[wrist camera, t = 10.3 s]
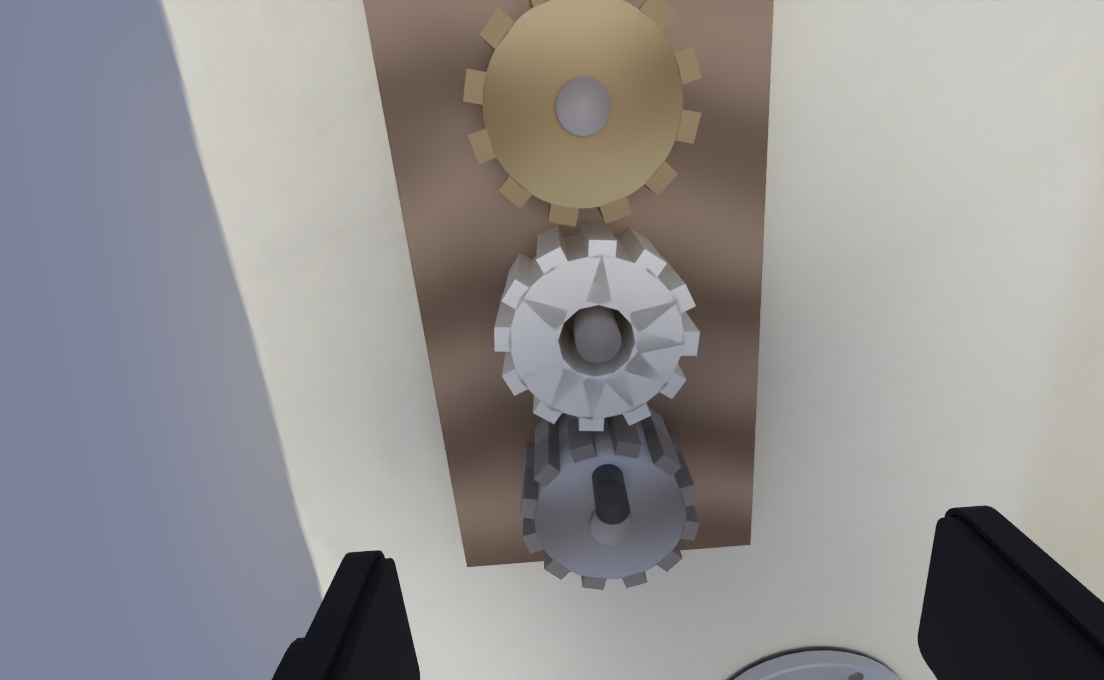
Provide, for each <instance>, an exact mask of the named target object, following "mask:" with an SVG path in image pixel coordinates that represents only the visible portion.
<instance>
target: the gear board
mask: <svg viewBox="0 0 1104 680" xmlns="http://www.w3.org/2000/svg"><path fill="white" fill-rule="evenodd" d="M773 1H774V0H363V3H364V8H365V14H366V19H367V25H368V30H369V36H370V41H371V46H372V52H373V57H374V63H375V68H376V74H377V79H378V85H379V90H380V95H381V101H382V106H383V112H384V117H385V123H386V128H387V134H388V139H389V144H390V150H391V155H392V161H393V166H394V172H395V177H396V182H397V188H398V193H399V199H400V204H401V210H402V215H403V221H404V226H405V231H406V237H407V242H408V248H409V253H410V259H411V264H412V270H413V275H414V280H415V286H416V291H417V297H418V302H419V308H420V313H421V319H422V324H423V329H424V335H425V340H426V346H427V351H428V357H429V362H430V367H431V373H432V378H433V384H434V389H435V395H436V400H437V406H438V411H439V416H440V422H441V427H442V433H443V438H444V444H445V449H446V455H447V460H448V465H449V471H450V476H451V482H452V487H453V493H454V498H455V504H456V509H457V514H458V520H459V525H460V531H461V536H462V542H463V547H464V552H465V558H466V563H467V567H473V566H486V565H498V564H511V563H524V562H537V561H544V569H545V570H547V571H548V572H550V573H551V574H553V575H555V576H556V577H558V578H559V579H562V578H563V577H565V576H566V575H567V574H568V573H569V572H570V571H571V572H574V573H576V574H579V575H581V579H582V587H584V588H592V589H600V590H603V589H604V585H605V581H606V579H617V578H622V579H623V581H624V584H625V586H626V588H629V587H632V586H636V585H639V584H642V583H646V582H647V580H646V575H645V571H646V570H648V569H650V568H652V567H653V566H655V565H658V566H660V567H661V568H663V569H664V570H666V571H668V570H669V569H670V568H672V567H673V566H674V565H675V564H676V563H677V562H679V561H680V560H681V559H682V555H681V552H680V550H690V549H702V548H715V547H728V546H741V545H750V539H751V516H752V492H753V469H754V446H755V422H756V399H757V375H758V352H759V329H760V305H761V282H762V258H763V235H764V212H765V188H766V165H767V141H768V118H769V94H770V71H771V48H772V24H773ZM582 219H602V220H604V222H605V224H608V226H609V227H610V229H611V231H612V233H613V235H614V237H616V238H619V239H621V237H622V236H623V234H624V233H625V231H626V230H627V228H628V227H630V228H631V229H633V230H635V231H636V232H638V233H639V234H641V235H642V236H644V237H646V238H647V239H648V240H649V241H650V243H651V244H652V245H653V246H654V247H655V249H656V250H657V251H658V252H659V254H660V255H661V256H663V257H664V258H665V259H666V260H667V262H668V263H669V264H670V265H671V267H672V268H673V269H674V270H675V272H676V273H677V274H678V275H679V276H680V278H681V279H682V280H683V281H684V283H685V284H686V286H687V288H688V290H689V292H690V295H691V297H692V299H693V301H694V303H695V305H696V306H695V307H693V308H691V309H689V310H687V311H686V313H687V314H688V316H689V317H690V319H691V320H692V321H693V323H694V324H695V326H696V327H697V329H698V330H699V331H700V336H699V343H698V351H697V356H680V359H679V361H678V364H679V366H680V368H681V370H682V372H683V374H684V376H685V378H686V382H685V383H684V384H683V385H682V387H681V388H680V389H679V391H678V392H677V393H676V395H675V396H674V397H673V398H672V399H671V398H669V397H667V396H665V395H664V394H662V393H660V392H658V393H657V394H656V395H655V396H653V397H652V398H651V399H650V400H648V401H647V404H648V407H649V410H650V413H651V416H649V417H647V418H645V419H643V420H641V421H639V422H636V423H634V424H632V425H630V426H629V425H628V423H627V421H626V419H625V418H624V416H623V414H620V415H615V416H611V417H606V418H604V430H603V431H579V425H578V417H577V416H573V415H569V414H565V413H562V414H561V415H560V416H559V418H558V419H557V421H556V422H555V424H553V423H551V422H549V421H547V420H545V419H543V418H541V417H540V416H538V415H536V414H534V413H533V403H534V394H533V393H532V392H531V391H530V390H529V389H527V390H525V391H523V392H521V393H519V394H517V395H515V396H514V394H513V393H512V391H511V390H510V388H509V387H508V385H507V383H506V382H505V380H504V379H503V377H502V372H503V366H504V360H505V354H506V352H500V351H494V326H495V322H496V318H497V314H498V310H499V306H500V302H501V298H502V294H503V293H504V289H505V285H506V281H507V276H508V272H509V270H510V268H511V267H512V265H513V263H514V262H515V260H516V258H517V257H518V255H519V253H522V254H524V255H525V256H527V257H529V258H530V259H532V260H533V259H534V258H535V257H536V252H537V238H538V235H540V234H542V233H544V232H545V231H547V230H549V229H551V228H553V227H555V226H556V225H558V226H559V228H560V230H561V232H562V233H563V235H564V237H568V236H573V235H577V234H581V231H582ZM618 315H619V310H615V309H612V308H608V307H605V306H601V305H596V306H592V307H587V308H583V309H579V310H578V311H577V312H575V313H574V314H573V315H572V316H571V317H570V318H569V319H568V320H566V321H565V322H564V325H565V326H566V327H567V328H568V329H569V330H570V331H571V332H573V333H574V336H575V344H576V349H577V351H578V353H579V354H580V356H581V357H582V358H584V359H585V360H587V361H589V362H593V363H603V362H606V361H609V360H610V359H612V358H613V357H614V356H615V355H616V354H617V353H618V351H619V349H620V347H621V335H620V332H619V329H618V326H617V323H616V321H617V318H618Z"/></svg>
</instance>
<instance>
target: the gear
mask: <svg viewBox="0 0 1104 680" xmlns="http://www.w3.org/2000/svg"><path fill="white" fill-rule="evenodd" d="M596 305H601V306H605V307H608V308H612V309H615V310H619V315H618V318H617V321H616V323H617V326H618V329H619V332H620V335H621V347H620V349H619V351H618V353H617V354H616V355H615V356H614V357H613V358H612V359H610V360H609V361H606V362H603V363H593V362H589V361H587V360H585V359H584V358H582V357H581V356H580V354H579V353H578V351H577V349H576V344H575V336H574V333H573V332H571V331H570V330H569V329H568V328H567V327H566V326H565V325H564V322H565V321H566V320H568V319H569V318H570V317H571V316H572V315H573V314H574V313H575V312H577V311H578V310H579V309H583V308H587V307H592V306H596ZM695 306H696V305H695V303H694V301H693V299H692V297H691V295H690V292H689V290H688V288H687V286H686V284H685V283H684V281H683V280H682V279H681V278H680V276H679V275H678V274H677V273H676V272H675V270H674V269H673V268H672V267H671V265H670V264H669V263H668V262H667V260H666V259H665V258H664V257H663V256H661V255H660V254H659V252H658V251H657V250H656V249H655V247H654V246H653V245H652V244H651V243H650V241H649V240H648V239H647V238H646V237H644V236H642V235H641V234H639V233H638V232H636V231H635V230H633V229H631V228H630V227H628V228H627V230H626V231H625V233H624V234H623V236H622V237H621V239H619V238H616V237H614V235H613V233H612V231H611V229H610V227H609V226H608V224H605V222H604V220H602V219H582V231H581V234H577V235H573V236H568V237H564V235H563V233H562V232H561V230H560V228H559V226H558V225H556V226H555V227H553V228H551V229H549V230H547V231H545V232H544V233H542V234H540V235H538V238H537V252H536V257H535V258H534V259H533V260H532V259H530V258H529V257H527V256H525V255H524V254H522V253H519V255H518V257H517V258H516V260H515V262H514V263H513V265H512V267H511V268H510V270H509V272H508V276H507V281H506V285H505V289H504V293H503V294H502V298H501V302H500V306H499V310H498V314H497V318H496V322H495V326H494V351H500V352H506V354H505V360H504V366H503V372H502V377H503V379H504V380H505V382H506V383H507V385H508V387H509V388H510V390H511V391H512V393H513V394H514V396H515V395H517V394H519V393H521V392H523V391H525V390H527V389H529V390H530V391H531V392H532V393H533V394H534V403H533V413H534V414H536V415H538V416H540V417H541V418H543V419H545V420H547V421H549V422H551V423H553V424H555V422H556V421H557V419H558V418H559V416H560V415H561V414H562V413H565V414H569V415H573V416H577V417H578V425H579V431H603V430H604V418H606V417H611V416H615V415H620V414H623V416H624V418H625V419H626V421H627V423H628V425H629V426H630V425H632V424H634V423H636V422H639V421H641V420H643V419H645V418H647V417H649V416H651V413H650V410H649V407H648V404H647V401H648V400H650V399H651V398H652V397H653V396H655V395H656V394H657V393H658V392H660V393H662V394H664V395H665V396H667V397H669V398H671V399H672V398H673V397H674V396H675V395H676V393H677V392H678V391H679V389H680V388H681V387H682V385H683V384H684V383H685V382H686V378H685V376H684V374H683V372H682V370H681V368H680V366H679V364H678V361H679V359H680V356H697V351H698V343H699V336H700V331H699V330H698V329H697V327H696V326H695V324H694V323H693V321H692V320H691V319H690V317H689V316H688V314H687V313H686V311H687V310H689V309H691V308H693V307H695Z"/></svg>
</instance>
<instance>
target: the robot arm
mask: <svg viewBox="0 0 1104 680" xmlns="http://www.w3.org/2000/svg"><path fill="white" fill-rule="evenodd" d="M918 645H919V649H920V652H921V654H922V657H923V658H924V660H925V662H926V663H927V665H928V666H929V668H930V669H931V671H932V672H933V673H934V675H935V676H936V678H937V679H938V680H1104V603H1103V602H1102V601H1101V600H1100V599H1099V598H1097V597H1096V596H1095V595H1094V594H1093V593H1092V592H1091V591H1089V590H1088V589H1087V588H1086V587H1085V586H1084V585H1082V584H1081V583H1080V582H1079V581H1078V580H1077V579H1076V578H1074V577H1073V576H1072V575H1071V574H1070V573H1069V572H1067V571H1066V570H1065V569H1064V568H1063V567H1062V566H1060V565H1059V564H1058V563H1057V562H1056V561H1055V560H1054V559H1052V558H1051V557H1050V556H1049V555H1048V554H1047V553H1045V552H1044V551H1043V550H1042V549H1041V548H1040V547H1038V546H1037V545H1036V544H1035V543H1034V542H1033V541H1032V540H1030V539H1029V538H1028V537H1027V536H1026V535H1025V534H1023V533H1022V532H1021V531H1020V530H1019V529H1018V528H1017V527H1015V526H1014V525H1013V524H1012V523H1011V522H1010V521H1008V520H1007V519H1006V518H1005V517H1004V516H1003V515H1001V514H1000V513H999V512H998V511H997V510H995V509H994V508H992V507H990V506H973V507H960V508H952V509H949V510H948V511H947V512H946V514H945V517H944V518H940V519H939V520H938V522H937V525H936V530H935V536H934V542H933V548H932V554H931V560H930V566H929V572H928V578H927V584H926V590H925V596H924V602H923V608H922V614H921V620H920V626H919V632H918ZM272 680H420V671H419V666H418V662H417V657H416V653H415V648H414V644H413V640H412V635H411V631H410V627H409V622H408V618H407V614H406V609H405V605H404V601H403V596H402V592H401V588H400V583H399V579H398V575H397V570H396V566H395V562H394V560H393V559H392V558H387V559H385V557H384V554H383V553H382V551H379V550H377V551H363V552H350V553H347V554H346V555H345V557H344V558H343V560H342V562H341V564H340V566H339V568H338V570H337V572H336V574H335V576H334V578H333V580H332V582H331V585H330V587H329V589H328V591H327V593H326V595H325V597H324V599H323V601H322V603H321V605H320V607H319V609H318V611H317V613H316V615H315V617H314V620H313V622H312V624H311V626H310V628H309V630H308V632H307V634H306V636H305V638H297V639H296V640H295V641H293V643H291V645H290V646H289V648H288V649H287V651H286V652H285V654H284V656H283V658H282V661H281V662H280V664H279V666H278V668H277V670H276V672H275V674H274V676H273V679H272ZM733 680H900V679H899V678H898V676H897V675H896V674H895V673H893V672H892V671H891V670H889V669H888V668H887V667H886V666H884V665H882V664H880V663H878V662H876V661H874V660H872V659H870V658H868V657H864V656H860V655H856V654H853V653H849V652H840V651H831V650H821V651H805V652H799V653H793V654H787V655H784V656H781V657H777V658H774V659H771V660H768V661H765V662H763V663H761V664H759V665H757V666H755V667H753V668H751V669H748V670H747V671H745V672H744V673H742V674H741V675H739V676H738V677H736V678H735V679H733Z"/></svg>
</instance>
